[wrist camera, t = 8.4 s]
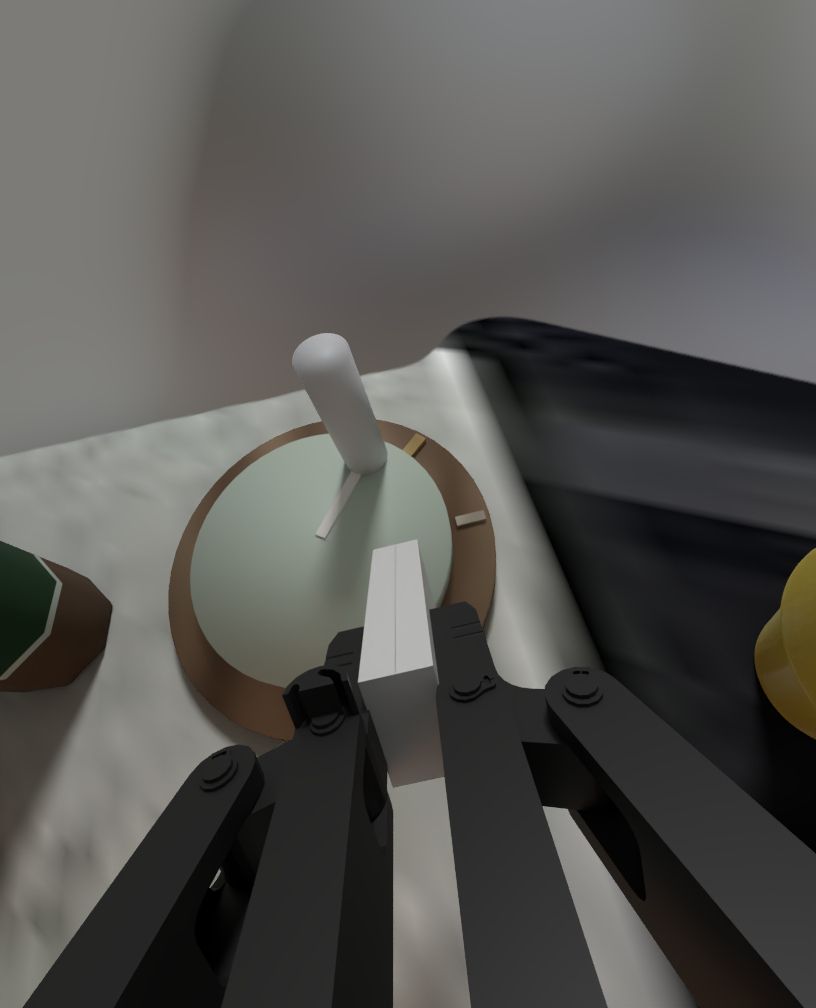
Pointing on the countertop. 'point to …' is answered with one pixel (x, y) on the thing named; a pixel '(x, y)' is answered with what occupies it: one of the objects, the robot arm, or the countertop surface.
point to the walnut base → (468, 582)
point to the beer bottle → (46, 622)
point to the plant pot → (792, 650)
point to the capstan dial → (312, 530)
